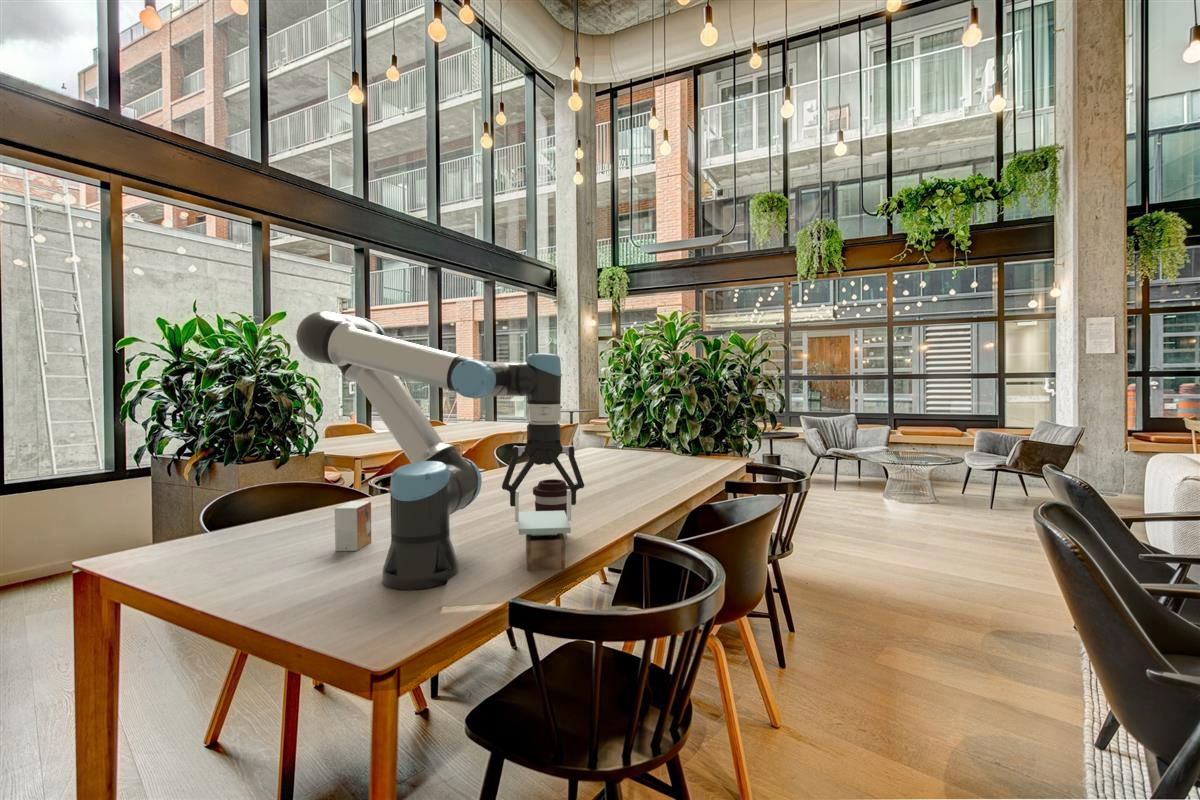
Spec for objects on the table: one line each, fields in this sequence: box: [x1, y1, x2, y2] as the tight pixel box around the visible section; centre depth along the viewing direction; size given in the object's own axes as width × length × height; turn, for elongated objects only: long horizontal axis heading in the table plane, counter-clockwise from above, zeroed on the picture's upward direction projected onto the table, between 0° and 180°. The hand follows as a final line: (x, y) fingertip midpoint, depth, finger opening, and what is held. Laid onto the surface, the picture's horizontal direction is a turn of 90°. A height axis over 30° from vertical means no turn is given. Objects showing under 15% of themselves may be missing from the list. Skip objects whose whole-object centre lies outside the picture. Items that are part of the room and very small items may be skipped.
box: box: [525, 533, 566, 572], centre depth 123 cm, size 8×14×7 cm, turn 9°
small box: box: [334, 500, 372, 552], centre depth 134 cm, size 8×6×10 cm
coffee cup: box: [532, 478, 570, 539], centre depth 141 cm, size 10×10×15 cm
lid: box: [517, 510, 572, 536], centre depth 123 cm, size 11×15×2 cm
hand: (543, 519), depth 122 cm, fingers closed on lid, 11 cm apart
